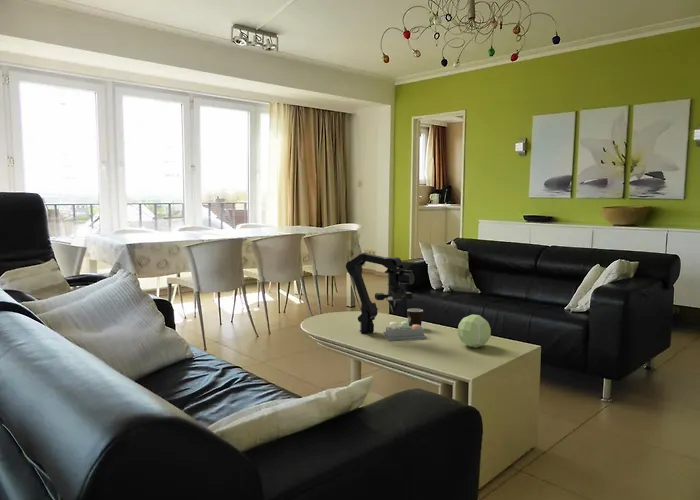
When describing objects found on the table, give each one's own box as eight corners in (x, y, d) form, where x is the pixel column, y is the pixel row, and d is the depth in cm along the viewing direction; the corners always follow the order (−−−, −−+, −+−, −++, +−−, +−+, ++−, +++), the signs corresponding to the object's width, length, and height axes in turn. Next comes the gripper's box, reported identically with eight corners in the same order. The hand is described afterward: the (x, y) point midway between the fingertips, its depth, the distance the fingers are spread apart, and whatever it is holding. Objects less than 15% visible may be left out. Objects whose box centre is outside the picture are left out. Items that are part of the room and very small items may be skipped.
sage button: (402, 331, 264) (402, 323, 264) (400, 329, 268) (400, 321, 268) (409, 330, 265) (409, 323, 264) (407, 328, 269) (407, 321, 268)
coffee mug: (423, 330, 279) (424, 311, 278) (407, 330, 280) (407, 311, 279) (421, 325, 291) (421, 307, 290) (405, 324, 291) (405, 307, 290)
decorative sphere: (452, 346, 248) (452, 315, 247) (467, 340, 260) (467, 310, 258) (480, 352, 239) (481, 320, 237) (495, 345, 250) (496, 315, 248)
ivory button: (390, 331, 263) (390, 324, 263) (388, 329, 267) (388, 322, 267) (398, 331, 264) (398, 323, 263) (396, 329, 268) (396, 321, 267)
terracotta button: (413, 334, 265) (413, 326, 265) (411, 332, 269) (411, 324, 269) (421, 333, 266) (421, 326, 266) (418, 331, 270) (418, 324, 270)
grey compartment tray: (390, 340, 259) (390, 332, 258) (383, 334, 271) (383, 325, 271) (426, 339, 262) (426, 330, 262) (418, 332, 275) (418, 324, 274)
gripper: (379, 285, 253) (379, 317, 255) (416, 284, 257) (416, 315, 258) (374, 281, 264) (374, 312, 266) (410, 280, 268) (409, 310, 269)
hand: (393, 312), depth 265 cm, fingers closed
